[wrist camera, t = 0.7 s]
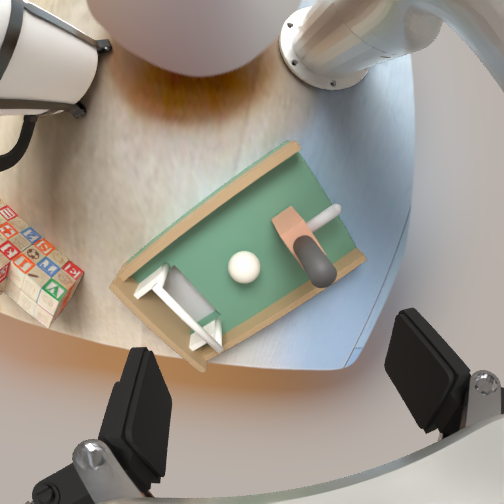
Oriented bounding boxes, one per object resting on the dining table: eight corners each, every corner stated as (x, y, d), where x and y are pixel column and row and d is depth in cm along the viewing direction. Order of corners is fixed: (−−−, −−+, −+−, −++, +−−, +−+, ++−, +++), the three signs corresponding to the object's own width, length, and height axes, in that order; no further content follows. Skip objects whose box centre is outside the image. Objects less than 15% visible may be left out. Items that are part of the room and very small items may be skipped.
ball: (246, 240, 37) (249, 252, 33) (264, 262, 38) (268, 277, 35) (221, 257, 38) (221, 271, 34) (239, 279, 39) (241, 295, 35)
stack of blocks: (85, 270, 39) (49, 315, 28) (72, 296, 41) (39, 343, 29) (-3, 194, 32) (-52, 217, 21) (-12, 223, 34) (-56, 251, 23)
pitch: (287, 140, 35) (306, 142, 27) (352, 246, 41) (380, 273, 33) (124, 263, 39) (103, 295, 31) (203, 342, 46) (200, 382, 38)
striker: (322, 184, 35) (370, 212, 23) (340, 215, 36) (390, 256, 24) (271, 219, 36) (294, 265, 24) (292, 249, 38) (322, 304, 26)
